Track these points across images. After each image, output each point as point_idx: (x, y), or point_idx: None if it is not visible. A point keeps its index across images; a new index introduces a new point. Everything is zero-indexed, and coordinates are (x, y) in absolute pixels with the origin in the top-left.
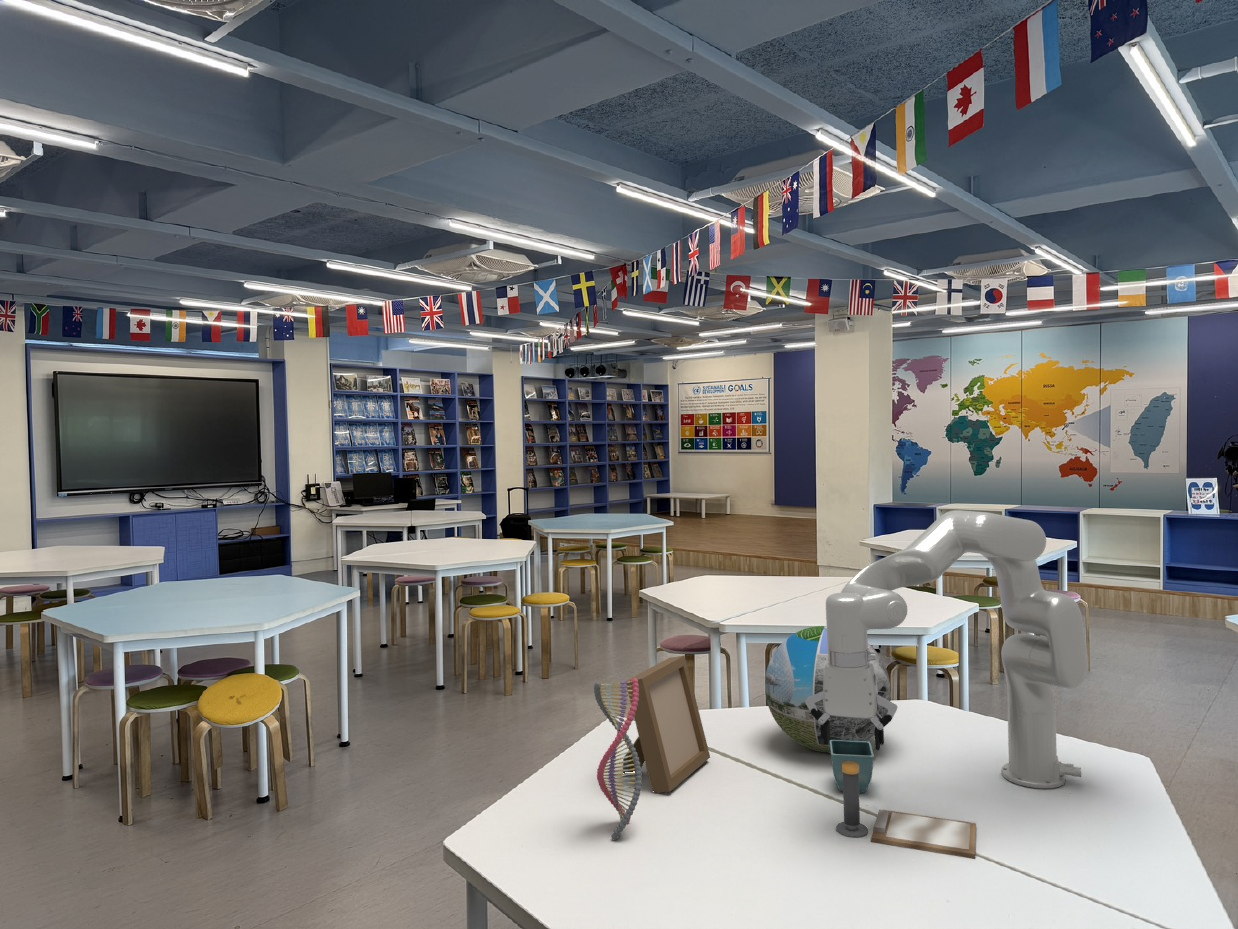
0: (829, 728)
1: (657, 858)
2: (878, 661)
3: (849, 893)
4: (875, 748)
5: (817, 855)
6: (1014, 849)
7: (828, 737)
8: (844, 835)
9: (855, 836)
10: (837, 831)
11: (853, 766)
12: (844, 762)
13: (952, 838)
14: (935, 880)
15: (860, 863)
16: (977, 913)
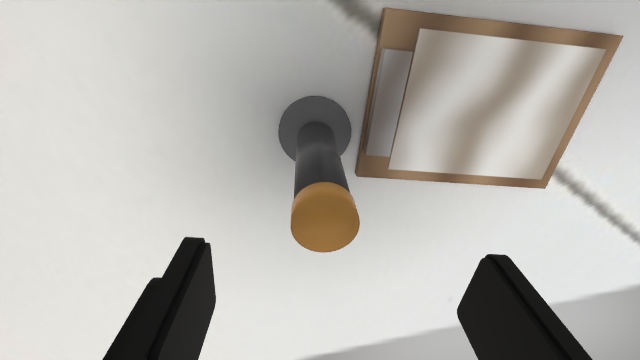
0: (183, 316)
1: (15, 311)
2: None
3: (322, 316)
4: (459, 318)
5: (261, 242)
6: (637, 127)
7: (204, 311)
8: None
9: None
10: (284, 149)
11: (337, 238)
12: (299, 211)
13: (527, 141)
14: (447, 261)
15: None
16: None
